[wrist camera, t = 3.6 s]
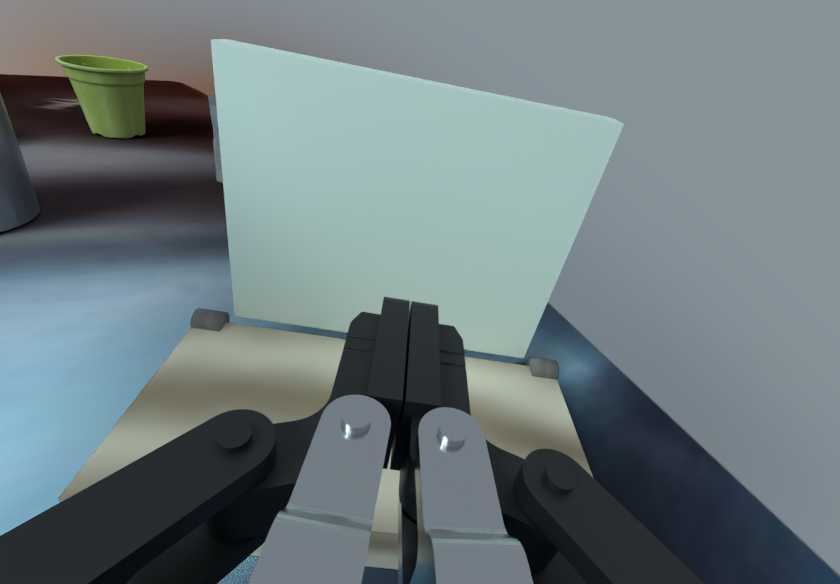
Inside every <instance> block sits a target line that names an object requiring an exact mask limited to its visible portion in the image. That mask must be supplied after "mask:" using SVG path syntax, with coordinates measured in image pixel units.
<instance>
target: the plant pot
mask: <svg viewBox="0 0 840 584" xmlns="http://www.w3.org/2000/svg"><path fill="white" fill-rule="evenodd" d="M55 59H56V61H57V62H58V63H59V64H61V66H62V68H63V70H64V72H65V74H66V76H67V77H68V78H69V79H70V81H71V84H72V86H73V88H74V91H75V93H76V95H77V98H78V100H79V102H80V105H81V107H82V110H83V112H84V114H85V117H86V120H87V122H88V124H89V127H90V129H91V131H92V133H94V134H101V135H102V136H104V137H108V138H123V139H124V138H132V137H133V136H135V135H139V136H142V135H144V134H145V114H144V85H143V84H144V82H145V72H146V71H147V70H148V67H147V66H146V65H144V64H141V63H138V62H134V61H129V60H124V59H118V58H111V57H102V56H90V55H65V56H58V57H56V58H55Z"/></svg>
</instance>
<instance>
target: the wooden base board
mask: <svg viewBox="0 0 840 584" xmlns="http://www.w3.org/2000/svg"><path fill="white" fill-rule="evenodd" d="M345 341H346V339H339V338H332V337H325V336H319V335H312V334H305V333H298V332H291V331H284V330H277V329H270V328H263V327H256V326H249V325H243V324H236V323H229V314H228V313H227V312H220V311H214V310H207V309H200V308H198V309H196V310H195V312H194V313H193V316H192V319H191V328H190V329H189V331H188V332H187V333H186V334H185V336H184V337H183V338H182V340H181V341H180V342H179V343H178V345H177V346H176V347H175V349H174V350H173V351H172V352H171V354H170V355H169V356H168V358H167V359H166V360H165V361H164V363H163V364H162V365H161V367H160V368H159V369H158V370H157V372H156V373H155V374H154V376H153V377H152V378H151V379H150V381H149V382H148V383H147V385H146V386H145V387H144V388H143V390H142V391H141V392H140V394H139V395H138V396H137V397H136V399H135V400H134V401H133V403H132V404H131V405H130V406H129V408H128V409H127V410H126V412H125V413H124V414H123V415H122V417H121V418H120V419H119V421H118V422H117V423H116V424H115V426H114V427H113V428H112V430H111V431H110V432H109V433H108V435H107V436H106V437H105V439H104V440H103V441H102V442H101V444H100V445H99V446H98V448H97V449H96V450H95V451H94V453H93V454H92V455H91V457H90V458H89V459H88V460H87V462H86V463H85V464H84V466H83V467H82V468H81V469H80V471H79V472H78V473H77V475H76V476H75V477H74V479H73V480H72V481H71V482H70V484H69V485H68V486H67V488H66V489H65V490H64V491H63V493H62V494H61V495H60V497H59V498H58V499H59V501H60V502H62V501H64V500H66V499H68V498H69V497H71V496H73V495H75V494H77V493H78V492H80V491H82V490H84V489H86V488H87V487H89V486H91V485H93V484H95V483H96V482H98V481H100V480H102V479H103V478H105V477H107V476H109V475H111V474H112V473H114V472H116V471H118V470H120V469H121V468H123V467H125V466H127V465H129V464H130V463H132V462H134V461H136V460H138V459H139V458H141V457H143V456H145V455H146V454H148V453H150V452H152V451H154V450H155V449H157V448H159V447H161V446H163V445H164V444H166V443H168V442H170V441H172V440H173V439H175V438H177V437H179V436H181V435H182V434H184V433H186V432H188V431H189V430H191V429H193V428H195V427H197V426H198V425H200V424H202V423H204V422H206V421H207V420H209V419H211V418H213V417H215V416H217V415H219V414H221V413H224V412H227V411H231V410H237V409H249V410H254V411H257V412H260V413H262V414H264V415H265V416H266V417H268V418H269V419H270V420H271V422H272V423H273V424H275V423H282V422H289V421H295V420H300V419H303V418H306V417H309V416H311V415H313V414H315V413H316V412H318V411H319V410H320V409H321V408H322V407H324V405H325V404H326V403H327V401H328V400H329V398H330V395H331V392H332V389H333V385H334V381H335V378H336V374H337V370H338V367H339V363H340V359H341V356H342V352H343V349H344V344H345ZM465 364H466V366H465V369H466V374H467V384H468V393H469V403H470V413H471V417H473V418H474V419H475V420H476V421H477V422H478V424H479V425H480V426H481V428H482V430H483V432H484V435H485V439H486V440H488V441H489V442H490V443H492V444H493V445H495V446H497V447H498V448H500V449H503V450H505V451H507V452H510V453H512V454H514V455H516V456H519V457H521V458H523V459H525V458H526V457H527V455H528V454H530V453H531V452H532V451H534V450H537V449H544V448H545V449H553V450H557V451H559V452H562V453H564V454H566V455H568V456H569V457H571V458H572V459H574V460H575V461H576V462H577V463H578V464H579V465H580V466H581V467H583V468H584V469H585V470H586V471H587V472H588V473H589V474H590V475H591V476H592V473H591V470H590V467H589V465H588V462H587V459H586V457H585V454H584V451H583V449H582V446H581V443H580V440H579V438H578V435H577V432H576V430H575V427H574V424H573V422H572V419H571V416H570V414H569V411H568V408H567V405H566V403H565V400H564V397H563V395H562V392H561V389H560V387H559V384H558V381H557V378H558V375H559V366H558V363H557V361H554V360H547V359H540V358H534V357H530V358H529V359H528V361H527V363H526V365H519V364H512V363H505V362H498V361H491V360H484V359H477V358H470V357H465ZM391 452H392V449H391ZM390 463H391V454H390V458H389V462H388V467H387V469H383V470H382V475H381V480H380V485H379V491H378V496H377V501H376V506H375V512H374V517H373V522H372V529H371V535H370V540H369V546H368V551H367V556H366V562H365V566H367V567H378V568H388V569H398V501H399V479H400V471H398V470H390ZM592 477H593V476H592ZM264 543H265V542H264ZM264 543H263V544H262V545H261V546H260V547H259V548H258V549H256V550H255V551H254V552H253V553H252V554H251V555H253V556H260V553H261V551H262V548H263V546H264Z"/></svg>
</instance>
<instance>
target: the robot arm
mask: <svg viewBox="0 0 840 584" xmlns="http://www.w3.org/2000/svg"><path fill="white" fill-rule="evenodd" d="M39 212H40V206H39V203H38V200H37V197H36V194H35V191H34V188H33V186H32V183H31V180H30V177H29V174H28V171H27V168H26V165H25V162H24V159H23V156H22V153H21V150H20V147H19V145H18V142H17V139H16V136H15V133H14V130H13V127H12V125H11V122H10V119H9V116H8V113H7V110H6V107H5V104H4V102H3V99H2V96H1V93H0V232H2V231H6V230H9V229H12V228H15V227H18V226H21V225H23V224H25V223H27V222H29V221H31V220H32V219H33V218H35V217H36V216H37V215H38V213H39ZM409 307H410V310H409ZM465 366H466V364H465V357H464V345H463V339H462V337H461V336H460V334H459V333H458V331H457V330H456V328H455V327H454V326H450V325H443V324H439V314H438V305H434V304H427V303H421V302H415V301H412V302H411V306H410V301H409V300H403V299H397V298H391V297H384V299H383V304H382V310H381V315H380V314H374V313H368V312H361V313H360V314H358V315H357V316H356V317H355V318H354V319H353V320H352V321H351V322H350V326H349V330H348V333H347V338H346V341H345V344H344V349H343V352H342V356H341V359H340V363H339V367H338V370H337V374H336V378H335V381H334V385H333V389H332V392H331V395H330V398H329V400H328V401H327V403H326V404H325V405H324V407H322V408H321V409H320V410H319V411H318V412H316V413H315V414H313V415H311V416H309V417H306V418H303V419H300V420H295V421H289V422H282V423H275V424H273V423H272V422H271V420H270V419H269V418H268V417H266V416H265V415H264V414H262V413H260V412H257V411H254V410H249V409H237V410H231V411H227V412H224V413H221V414H219V415H217V416H215V417H213V418H211V419H209V420H207V421H206V422H204V423H202V424H200V425H198V426H197V427H195V428H193V429H191V430H189V431H188V432H186V433H184V434H182V435H181V436H179V437H177V438H175V439H173V440H172V441H170V442H168V443H166V444H164V445H163V446H161V447H159V448H157V449H155V450H154V451H152V452H150V453H148V454H146V455H145V456H143V457H141V458H139V459H138V460H136V461H134V462H132V463H130V464H129V465H127V466H125V467H123V468H121V469H120V470H118V471H116V472H114V473H112V474H111V475H109V476H107V477H105V478H103V479H102V480H100V481H98V482H96V483H95V484H93V485H91V486H89V487H87V488H86V489H84V490H82V491H80V492H78V493H77V494H75V495H73V496H71V497H69V498H68V499H66V500H64V501H62V502H60V503H59V504H57V505H55V506H53V507H51V508H50V509H48V510H46V511H44V512H43V513H41V514H39V515H37V516H35V517H34V518H32V519H30V520H28V521H26V522H25V523H23V524H21V525H19V526H17V527H16V528H14V529H12V530H10V531H8V532H7V533H5V534H3V535H1V536H0V584H217V583H218V582H219V581H220V580H221V579H223V578H224V577H225V576H226V575H227V574H228V573H230V572H231V571H232V570H233V569H234V568H235V567H237V566H238V565H239V564H240V563H241V562H242V561H244V560H245V559H246V558H247V557H248V556H249V555H251V554H252V553H253V552H254V551H255V550H256V549H258V548H259V547H260V546H261V545H262V544H263V543H264V542H265V543H264V546H263V548H262V551H261V553H260V556H259V558H258V561H257V563H256V566H255V568H254V571H253V573H252V576H251V578H250V581H249V583H248V584H361V582H362V577H363V572H364V567H365V562H366V556H367V551H368V546H369V540H370V535H371V529H372V522H373V517H374V512H375V506H376V501H377V496H378V491H379V485H380V480H381V475H382V470H383V469H387V467H388V462H389V458H390V454H391V463H390V470H398V471H400V479H399V501H398V584H705V583H704V582H703V581H702V580H701V579H699V578H698V577H697V576H696V575H695V574H694V573H693V572H692V571H691V570H690V569H689V568H688V567H687V566H686V565H685V564H684V563H683V562H682V561H681V560H679V559H678V558H677V557H676V556H675V555H674V554H673V553H672V552H671V551H670V550H669V549H668V548H667V547H666V546H665V545H664V544H663V543H662V542H660V541H659V540H658V539H657V538H656V537H655V536H654V535H653V534H652V533H651V532H650V531H649V530H648V529H647V528H646V527H645V526H644V525H643V524H642V523H640V522H639V521H638V520H637V519H636V518H635V517H634V516H633V515H632V514H631V513H630V512H629V511H628V510H627V509H626V508H625V507H624V506H623V505H622V504H620V503H619V502H618V501H617V500H616V499H615V498H614V497H613V496H612V495H611V494H610V493H609V492H608V491H607V490H606V489H605V488H604V487H603V486H601V485H600V484H599V483H598V482H597V481H596V480H595V479H594V478H593V477H592V476H591V475H590V474H589V473H588V472H587V471H586V470H585V469H584V468H583V467H581V466H580V465H579V464H578V463H577V462H576V461H575V460H574V459H572V458H571V457H569V456H568V455H566V454H564V453H562V452H559V451H557V450H553V449H545V448H544V449H537V450H534V451H532V452H531V453H530V454H528V455H527V457H526V458H525V459H523V458H521V457H519V456H516V455H514V454H512V453H510V452H507V451H505V450H503V449H500V448H498V447H497V446H495V445H493V444H492V443H490V442H489V441H488V440H486V439H485V435H484V432H483V430H482V428H481V426H480V425H479V424H478V422H477V421H476V420H475V419H474V418H473V417H471V413H470V403H469V393H468V384H467V374H466V369H465ZM391 449H392V452H391Z"/></svg>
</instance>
